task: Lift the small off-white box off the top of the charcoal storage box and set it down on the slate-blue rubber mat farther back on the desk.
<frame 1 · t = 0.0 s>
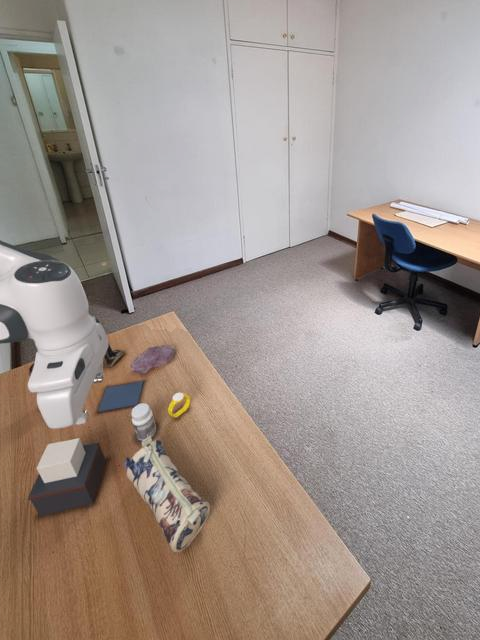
hand: (91, 399, 64), 24 cm above the table, tool pointing down, fingers open, 8 cm apart
mat: (121, 396, 93), on the table
pencil case: (170, 503, 69), on the table
small box: (65, 467, 69), point 7 cm above the table, touching storage box
fossil: (154, 364, 104), on the table
can: (58, 402, 92), on the table
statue: (113, 361, 105), on the table
watch: (181, 412, 89), on the table
pill bottle: (146, 432, 84), on the table
storage box: (75, 486, 72), on the table, touching small box
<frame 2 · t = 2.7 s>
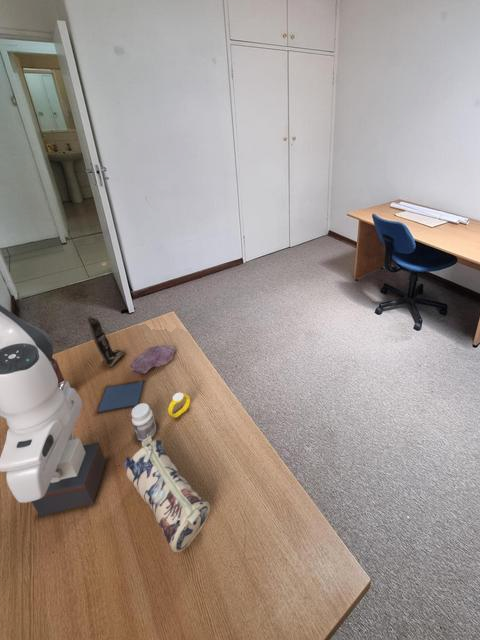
hand: (63, 462, 68), 9 cm above the table, tool pointing down, fingers closed on small box, 5 cm apart
small box: (66, 467, 69), point 7 cm above the table, touching gripper, storage box
everything else where it was.
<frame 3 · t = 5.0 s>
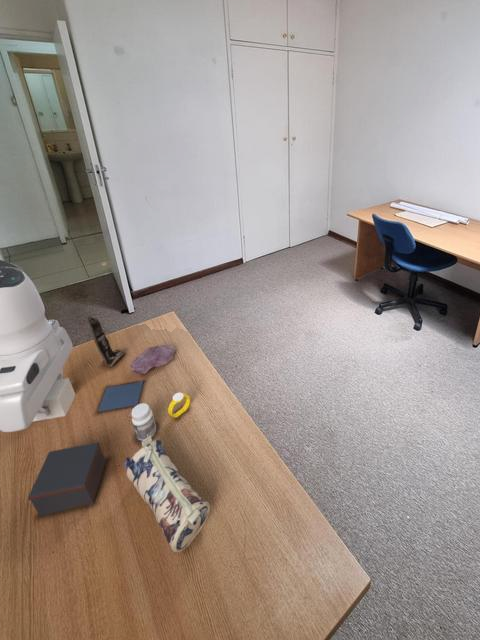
hand: (51, 402, 65), 23 cm above the table, tool pointing down, fingers closed on small box, 5 cm apart
small box: (54, 407, 66), point 21 cm above the table, touching gripper
storage box: (75, 486, 72), on the table
everything else where it was.
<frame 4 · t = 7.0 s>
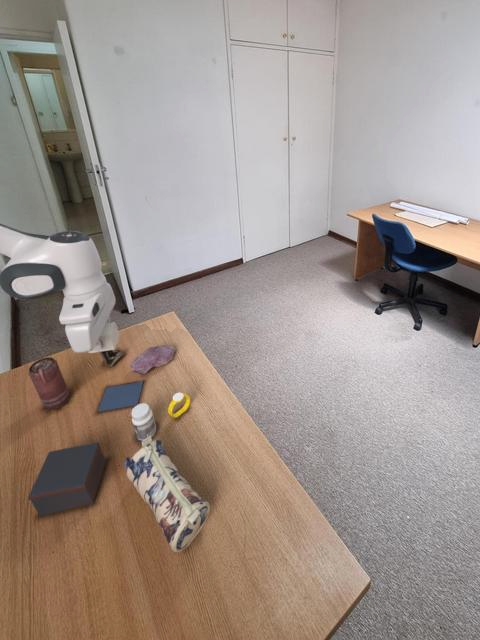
hand: (102, 340, 84), 21 cm above the table, tool pointing down, fingers closed on small box, 5 cm apart
small box: (104, 344, 85), point 20 cm above the table, touching gripper
everything else where it was.
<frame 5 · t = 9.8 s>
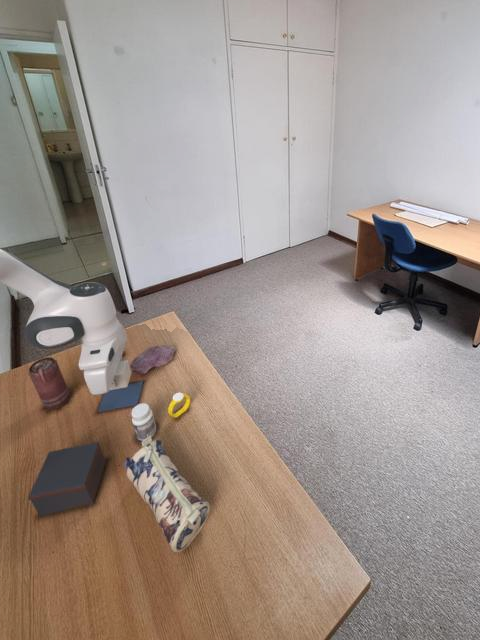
hand: (116, 377, 90), 7 cm above the table, tool pointing down, fingers closed on small box, 5 cm apart
small box: (117, 381, 91), point 6 cm above the table, touching gripper
everything else where it was.
when the fingers open (2 cm above the table, at t = 11.6 s): small box stays where it is, resting on mat.
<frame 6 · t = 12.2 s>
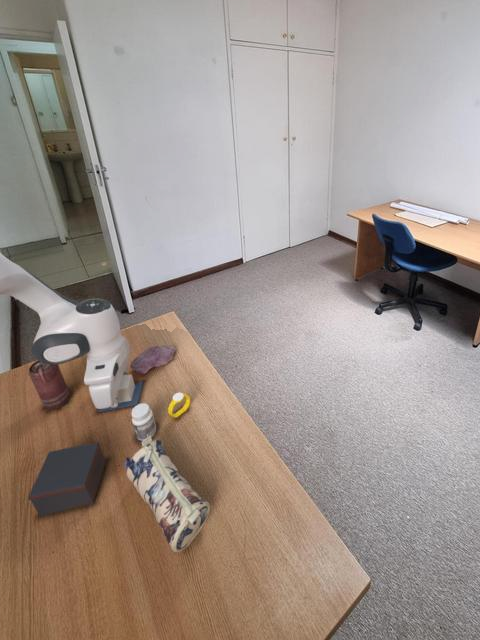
hand: (119, 390, 92), 2 cm above the table, tool pointing down, fingers open, 8 cm apart
small box: (122, 395, 93), resting on mat
everything else where it was.
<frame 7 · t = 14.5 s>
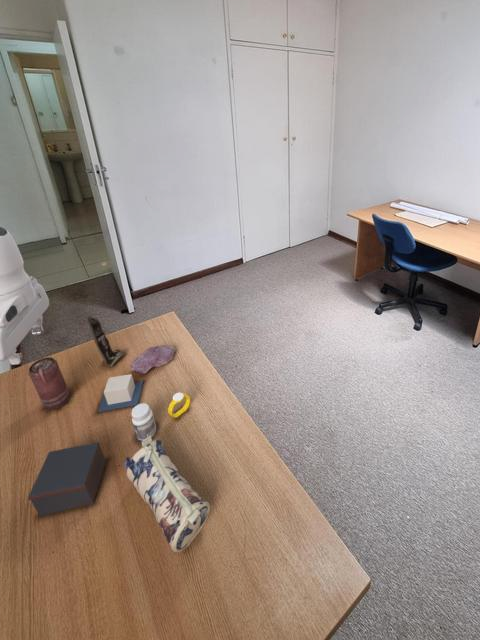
hand: (28, 347, 75), 26 cm above the table, tool pointing down, fingers open, 8 cm apart
nothing on the table moved.
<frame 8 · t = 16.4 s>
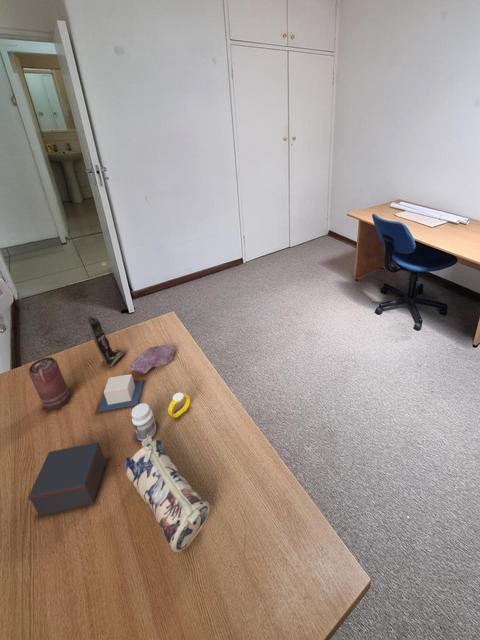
nothing on the table moved.
at the end: small box inside the target area on the mat (0.1 cm from its centre), point 0.4 cm above the mat's base; small box tilted 0°; storage box moved 0.0 cm from its start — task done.
